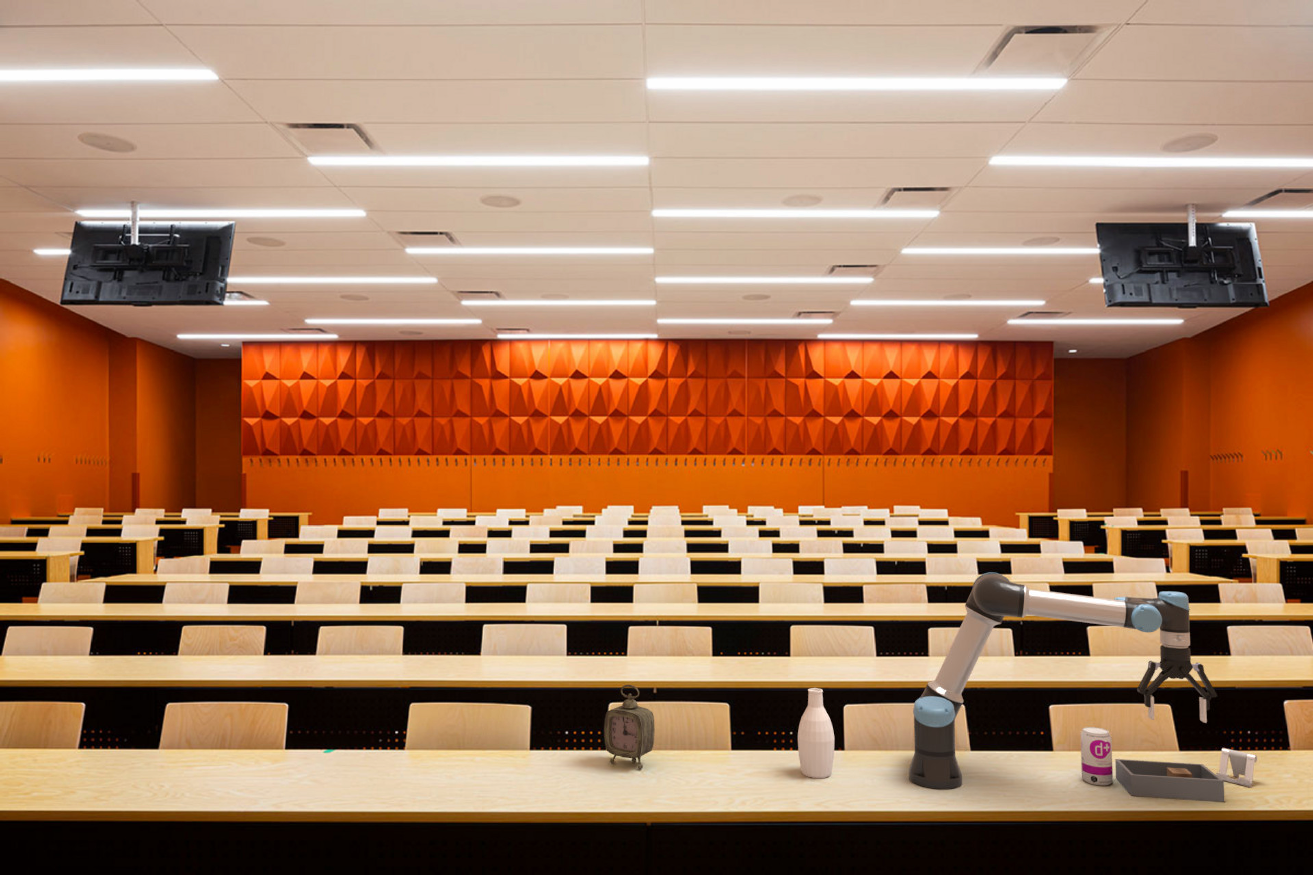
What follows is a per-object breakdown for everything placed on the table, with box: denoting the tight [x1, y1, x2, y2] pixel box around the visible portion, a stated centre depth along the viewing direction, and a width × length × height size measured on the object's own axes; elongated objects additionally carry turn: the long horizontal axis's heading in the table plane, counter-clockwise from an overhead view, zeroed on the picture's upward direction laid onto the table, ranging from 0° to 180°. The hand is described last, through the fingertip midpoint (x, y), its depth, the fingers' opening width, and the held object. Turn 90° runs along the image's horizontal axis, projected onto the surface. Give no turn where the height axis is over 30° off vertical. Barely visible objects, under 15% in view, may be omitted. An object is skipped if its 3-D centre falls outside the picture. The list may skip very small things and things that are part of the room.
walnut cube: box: [1167, 768, 1193, 778], centre depth 248 cm, size 5×5×5 cm
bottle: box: [797, 687, 835, 779], centre depth 265 cm, size 11×11×25 cm
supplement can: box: [1080, 726, 1114, 786], centre depth 257 cm, size 8×8×15 cm
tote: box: [1114, 758, 1225, 803], centre depth 250 cm, size 24×15×6 cm, turn 78°
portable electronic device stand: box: [1215, 747, 1258, 788], centre depth 257 cm, size 9×8×8 cm
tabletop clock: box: [603, 684, 656, 770], centre depth 274 cm, size 14×9×25 cm, turn 58°
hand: (1177, 719), depth 249 cm, fingers open, 13 cm apart
